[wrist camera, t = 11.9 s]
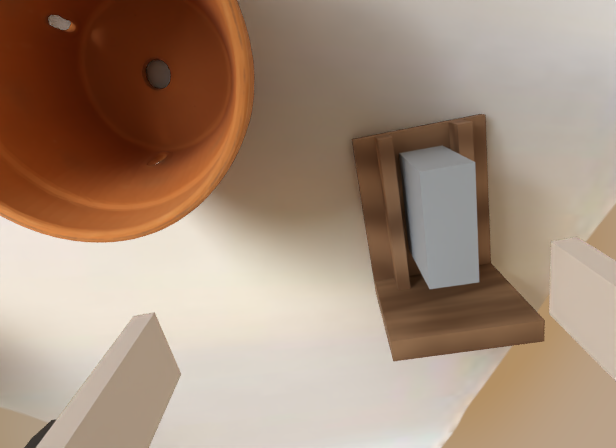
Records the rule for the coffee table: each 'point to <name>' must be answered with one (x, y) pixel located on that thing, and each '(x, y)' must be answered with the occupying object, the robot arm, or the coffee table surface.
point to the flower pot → (118, 112)
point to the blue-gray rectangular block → (441, 215)
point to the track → (404, 271)
